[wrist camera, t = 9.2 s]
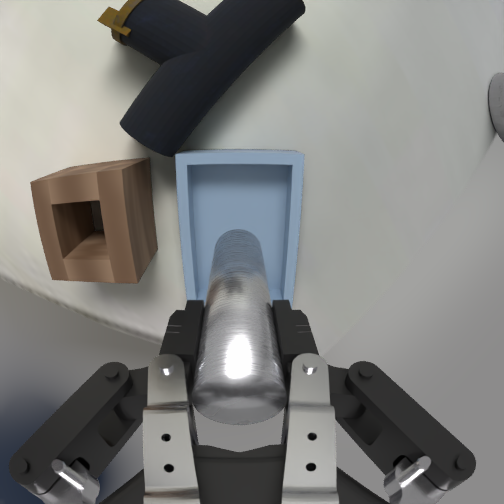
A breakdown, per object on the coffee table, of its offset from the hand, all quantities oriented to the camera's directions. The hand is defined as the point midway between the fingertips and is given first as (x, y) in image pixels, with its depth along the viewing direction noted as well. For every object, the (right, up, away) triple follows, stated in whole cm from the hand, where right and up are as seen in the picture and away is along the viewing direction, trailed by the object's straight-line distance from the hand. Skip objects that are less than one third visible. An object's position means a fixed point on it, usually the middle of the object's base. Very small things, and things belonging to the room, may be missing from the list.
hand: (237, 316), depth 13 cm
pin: (0, +3, +7) cm, 7 cm away
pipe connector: (-5, +20, +5) cm, 21 cm away
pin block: (-12, +7, +10) cm, 17 cm away
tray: (0, +5, +11) cm, 12 cm away
